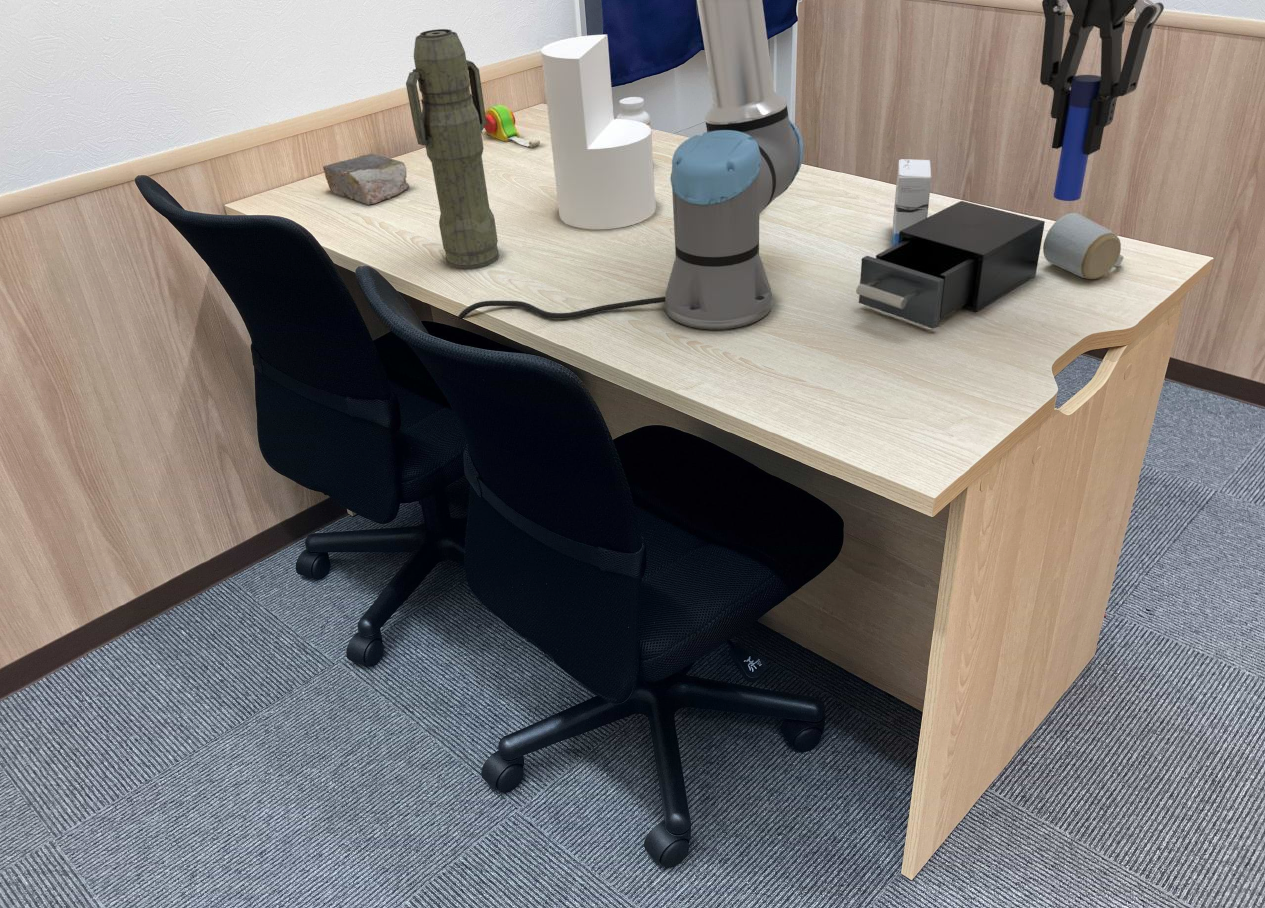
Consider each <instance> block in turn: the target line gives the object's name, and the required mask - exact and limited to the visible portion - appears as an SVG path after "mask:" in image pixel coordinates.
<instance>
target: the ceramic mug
mask: <svg viewBox="0 0 1265 908" xmlns="http://www.w3.org/2000/svg"><path fill="white" fill-rule="evenodd" d="M1121 249H1122V243H1121V240H1120V238H1119V237H1118V235H1117V234H1116V233H1114V232H1113V231H1111V230H1110V229H1109V228H1107V227H1104V226H1103V225H1100V224H1099V223H1097V222H1095V221H1093V220H1091V219H1089V218H1087V217H1085V216H1083V215H1082V214H1080V213H1076V212H1071V213H1067V214H1064V215H1063V216H1061V217H1059V218H1058V219H1057V220H1056V221H1055V222H1053V224H1052V225H1051V227H1050V228H1049V229H1048V231H1047V233H1046V236H1045V238H1044V240H1043V246H1042V253H1043V257H1044V259H1045V260H1046V261H1047V262H1048V263H1050V264H1052V265H1054V266H1056V267H1059V268H1060V269H1063V270H1064V271H1068V272H1069V273H1071V274H1073V275H1076V276H1078V277H1081V278H1083V279H1088V280H1097V279H1099V278H1102V277H1103V276H1105V275H1106V274H1108V273H1109V272H1110V271H1111V270H1112V269H1113V268H1114V267H1117V268H1119V267H1120V266H1121V264H1122V262H1123V260H1124V259H1125V258H1124V256H1123V255H1122V254H1121V251H1122V250H1121Z"/></svg>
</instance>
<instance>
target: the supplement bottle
mask: <svg viewBox="0 0 1265 908" xmlns="http://www.w3.org/2000/svg"><path fill="white" fill-rule="evenodd" d="M644 108H645V100H644V98H643V97H639V96H630V97H629V96H628V97H625V98H621V99H620V100H619V109H620V112H619V113H618V114H617V116H616V118H615V119H626V120H633V121H638V122H642V123H644V124H646V125H648V126H649V127H650V128H651V117H650V114H649V113H648V112H647V111H645V110H644Z"/></svg>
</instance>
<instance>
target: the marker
mask: <svg viewBox="0 0 1265 908" xmlns="http://www.w3.org/2000/svg"><path fill="white" fill-rule="evenodd" d="M1100 85H1101V75H1095V74H1079V75H1075V77H1073V79H1072V85H1071V87H1070V90H1071V91H1070V96H1069V102H1068V104H1069V108H1068V113H1067V119H1066V125H1065V131H1064V137H1063V143H1062V147H1061V148H1060V156H1059V162H1058V168H1057V173H1056V179H1055V185H1054V191H1053V198H1054V199H1056V200H1059V201H1063V202H1073V201H1078V200H1080V199H1081V197H1082V192H1083V186H1084V181H1085V176H1086V171H1087V165H1088V159H1089V155H1086V154H1083V150H1084V145H1085V139H1086V134H1087V128H1088V123H1089V117H1090V112H1091V106H1092V101H1093V99H1094V98H1096V97H1097V96H1099V95H1100Z"/></svg>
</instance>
